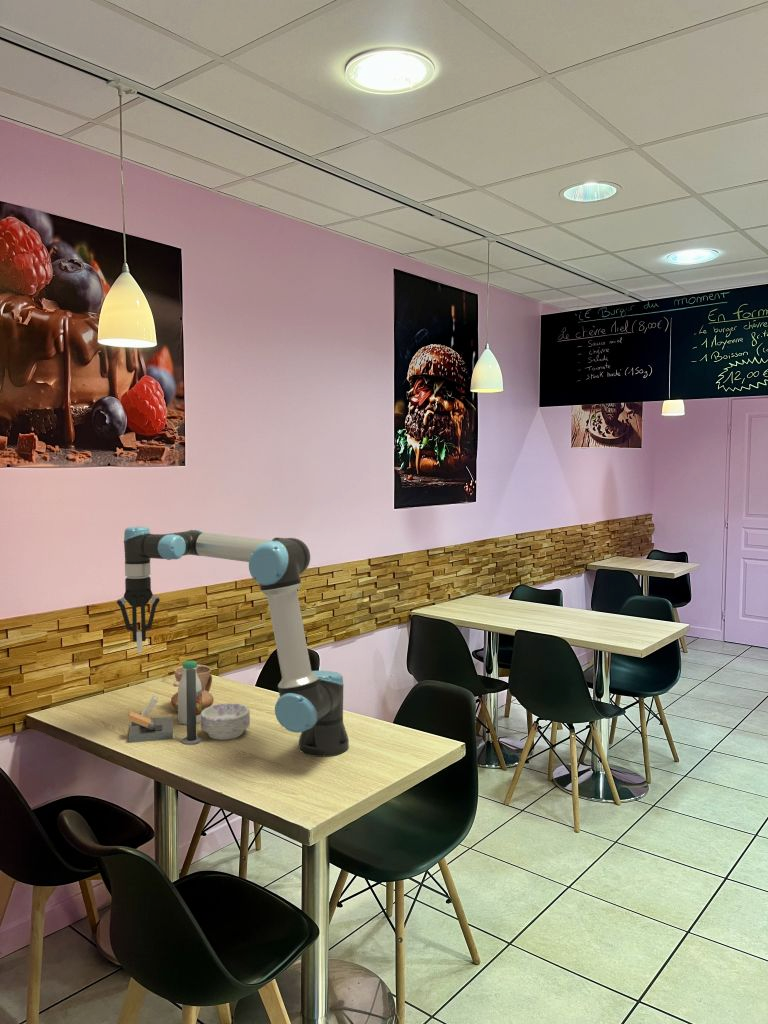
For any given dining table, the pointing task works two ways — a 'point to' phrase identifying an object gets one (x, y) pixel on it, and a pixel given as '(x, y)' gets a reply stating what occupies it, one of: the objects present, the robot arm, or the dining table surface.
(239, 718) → the paper bowls
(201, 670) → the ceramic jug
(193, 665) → the milk bottle
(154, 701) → the paddle
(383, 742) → the dining table surface
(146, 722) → the orange rounded bar
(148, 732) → the panel
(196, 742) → the post
